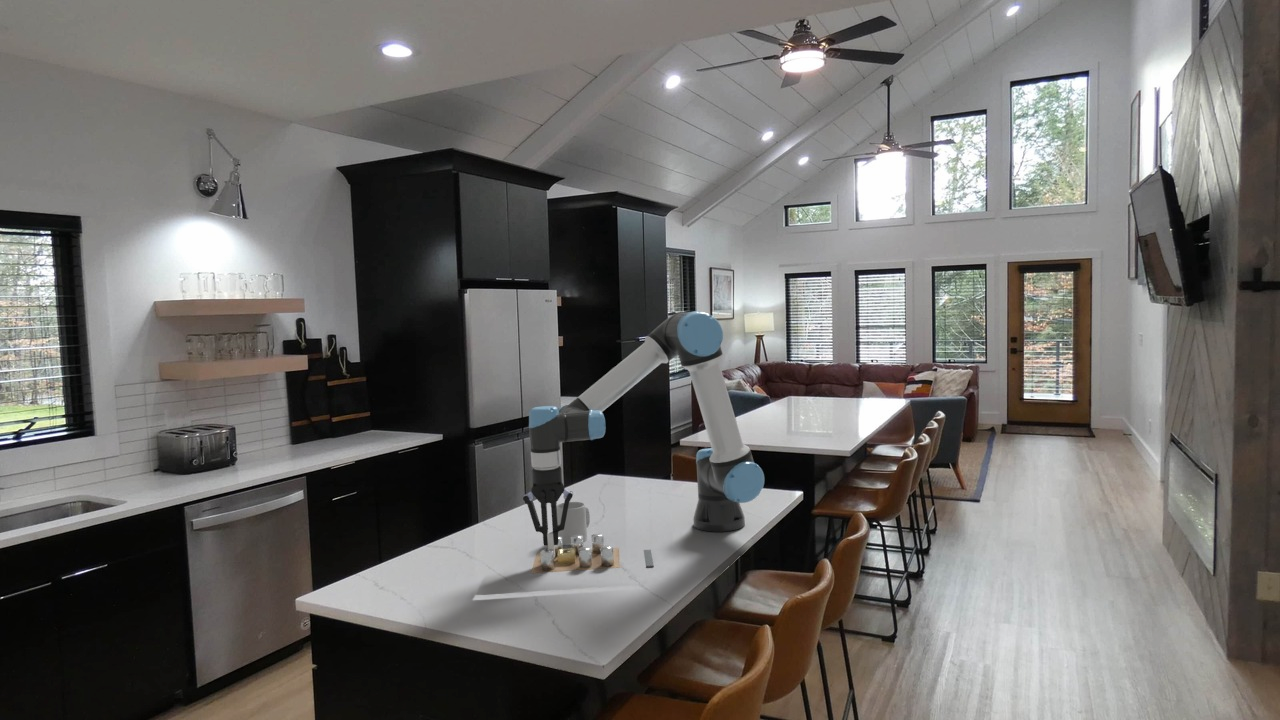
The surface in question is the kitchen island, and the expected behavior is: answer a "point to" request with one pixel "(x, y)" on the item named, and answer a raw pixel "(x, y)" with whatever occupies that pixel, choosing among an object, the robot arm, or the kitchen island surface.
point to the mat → (648, 558)
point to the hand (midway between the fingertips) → (551, 557)
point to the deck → (576, 563)
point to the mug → (574, 521)
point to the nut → (566, 556)
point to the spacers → (581, 552)
